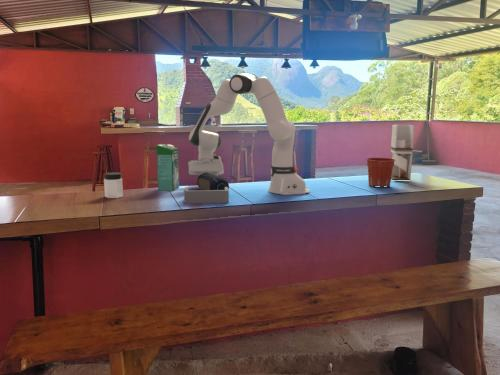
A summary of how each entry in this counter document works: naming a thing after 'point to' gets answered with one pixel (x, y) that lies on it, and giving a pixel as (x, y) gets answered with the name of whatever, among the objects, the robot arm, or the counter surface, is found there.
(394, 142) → the white two-tier box
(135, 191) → the counter surface
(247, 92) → the robot arm
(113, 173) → the jar
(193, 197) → the tray
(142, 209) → the counter surface
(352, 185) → the counter surface
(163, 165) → the milk carton
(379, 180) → the flower pot
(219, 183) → the portable speaker
